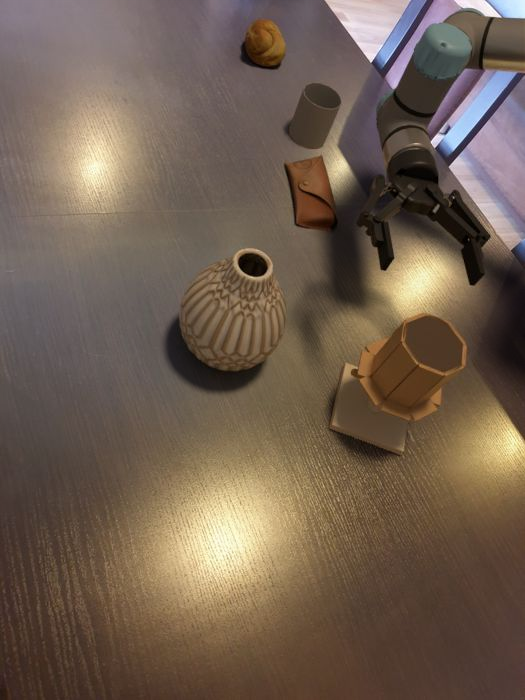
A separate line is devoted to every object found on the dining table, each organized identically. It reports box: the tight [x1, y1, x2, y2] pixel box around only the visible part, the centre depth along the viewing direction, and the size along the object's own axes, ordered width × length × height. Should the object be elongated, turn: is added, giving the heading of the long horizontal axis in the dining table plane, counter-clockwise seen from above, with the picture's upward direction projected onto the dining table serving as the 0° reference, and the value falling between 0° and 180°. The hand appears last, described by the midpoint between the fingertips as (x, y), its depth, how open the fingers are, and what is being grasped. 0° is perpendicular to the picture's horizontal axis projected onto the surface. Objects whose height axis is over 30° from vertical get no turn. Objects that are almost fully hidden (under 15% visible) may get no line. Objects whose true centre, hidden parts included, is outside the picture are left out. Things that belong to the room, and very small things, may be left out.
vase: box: [178, 247, 287, 372], centre depth 82 cm, size 16×16×20 cm
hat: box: [357, 312, 468, 422], centre depth 79 cm, size 13×13×10 cm
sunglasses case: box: [284, 154, 339, 232], centre depth 113 cm, size 18×7×7 cm, turn 8°
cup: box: [288, 82, 343, 150], centre depth 120 cm, size 8×8×10 cm
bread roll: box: [244, 19, 287, 68], centre depth 133 cm, size 13×10×8 cm
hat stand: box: [328, 362, 408, 456], centre depth 83 cm, size 13×12×20 cm
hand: (433, 272), depth 77 cm, fingers open, 13 cm apart
